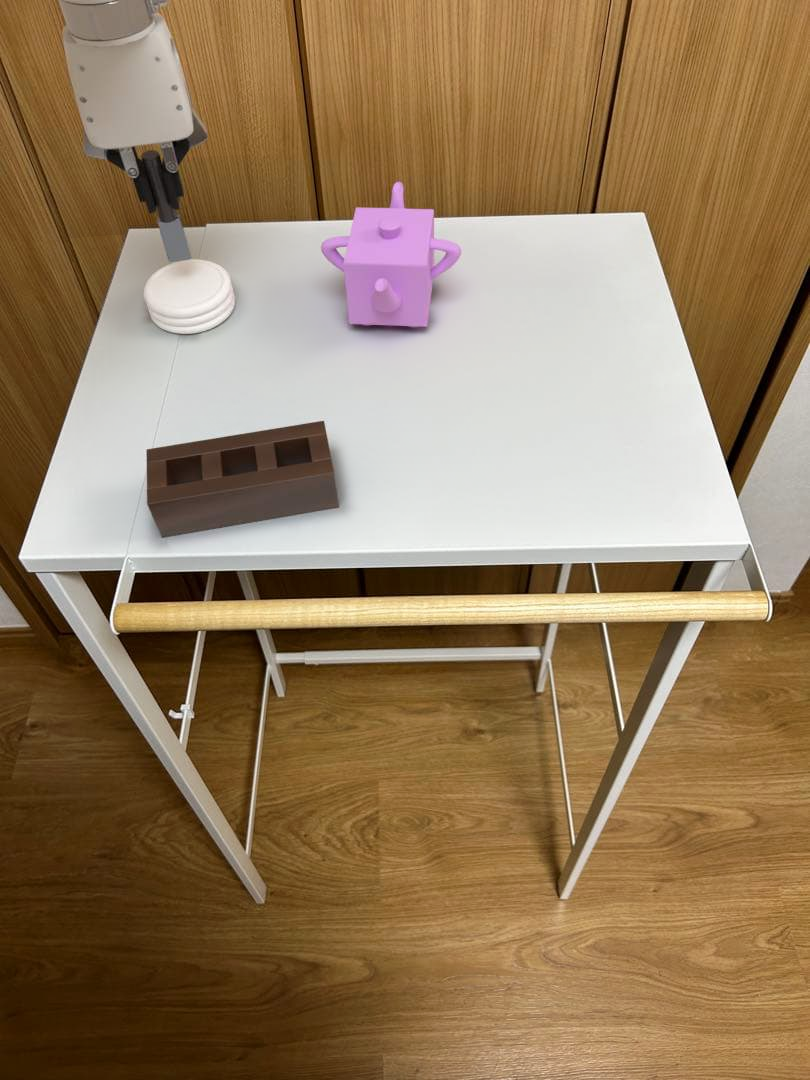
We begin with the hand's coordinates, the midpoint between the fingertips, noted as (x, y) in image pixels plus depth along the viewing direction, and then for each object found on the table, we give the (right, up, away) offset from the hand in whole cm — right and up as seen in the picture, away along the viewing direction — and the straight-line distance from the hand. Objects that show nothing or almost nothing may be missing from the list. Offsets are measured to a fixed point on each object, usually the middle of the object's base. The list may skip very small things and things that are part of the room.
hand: (164, 203), depth 87 cm
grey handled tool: (0, -4, +5) cm, 7 cm away
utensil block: (+10, -31, -7) cm, 33 cm away
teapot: (+24, -8, +10) cm, 27 cm away
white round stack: (0, -8, +11) cm, 14 cm away
